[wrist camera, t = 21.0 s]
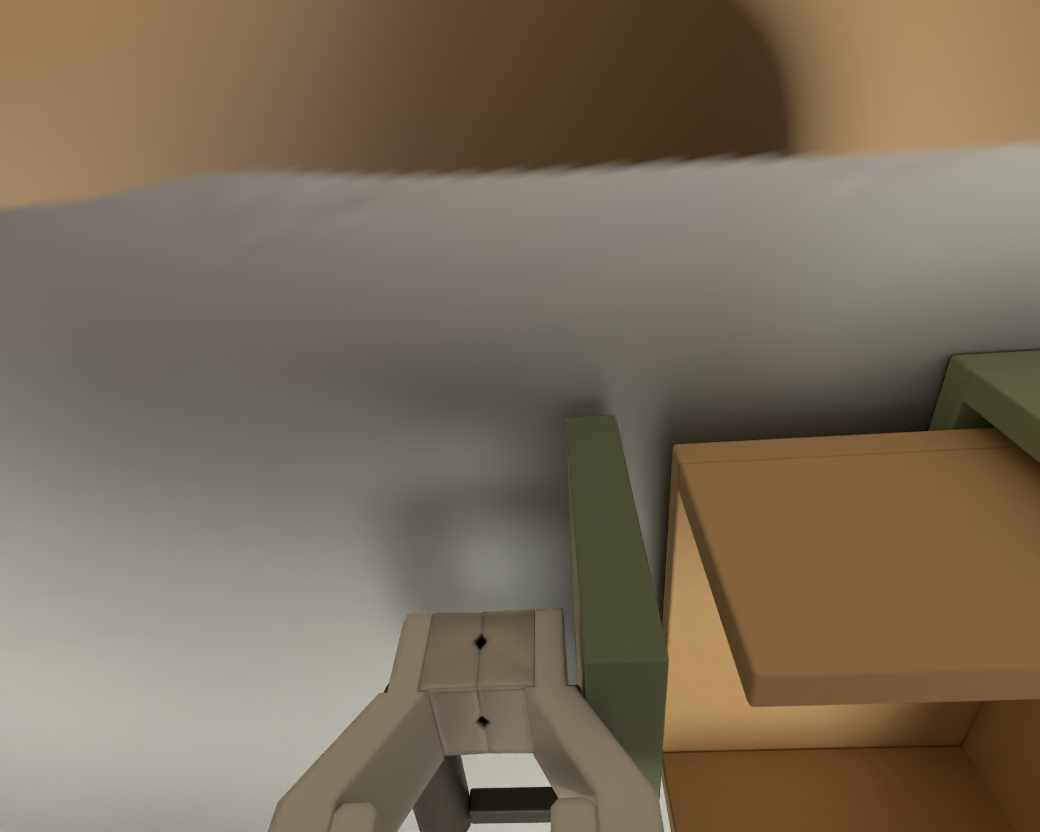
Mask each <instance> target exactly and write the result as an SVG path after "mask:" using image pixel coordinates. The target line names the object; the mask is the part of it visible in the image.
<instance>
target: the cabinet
mask: <svg viewBox="0 0 1040 832" xmlns="http://www.w3.org/2000/svg"><path fill="white" fill-rule="evenodd" d="M977 428H997V429H998V430H1000V431H1001V432H1002V433H1003V434H1005V435H1006V436H1007V437H1008V438H1009V439H1011V440H1012V441H1013V442H1014V443H1016V444H1017V445H1018V446H1019V447H1020V448H1022V449H1023V450H1024V451H1025V452H1027V453H1028V454H1029V455H1030V456H1032V457H1033V458H1034V459H1035V460H1036V461H1038V462H1039V463H1040V350H1034V351H1018V352H1001V353H984V354H967V355H954V356H952V357H951V359H950V362H949V365H948V368H947V372H946V375H945V378H944V381H943V385H942V388H941V391H940V394H939V398H938V401H937V404H936V407H935V411H934V414H933V417H932V420H931V424H930V427H929V430H928V431H939V430H958V429H977Z"/></svg>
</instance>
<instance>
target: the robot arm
mask: <svg viewBox="0 0 1040 832" xmlns="http://www.w3.org/2000/svg"><path fill="white" fill-rule="evenodd" d="M484 753H534V756H535V758H536V760H537V761H538V763H539V765H540V767H541V768H542V770H543V772H544V774H545V776H546V777H547V779H548V781H549V783H550V784H551V786H552V788H553V790H554V792H555V793H556V795H557V797H558V799H557V800H556V802H555V803H554V804H553V805H552V806H551V832H664V828H663V822H662V816H661V810H660V804H659V798H658V793H657V792H656V791H655V789H654V788H653V787H652V785H651V784H650V783H649V781H648V780H647V779H646V778H645V776H644V775H643V774H642V772H641V771H640V770H639V768H638V767H637V766H636V765H635V763H634V762H633V761H632V759H631V758H630V757H629V755H628V754H627V753H626V752H625V750H624V749H623V748H622V746H621V745H620V744H619V742H618V741H617V740H616V739H615V737H614V736H613V735H612V733H611V732H610V731H609V729H608V728H607V727H606V726H605V724H604V723H603V722H602V720H601V719H600V718H599V716H598V715H597V714H596V712H595V711H594V710H593V709H592V707H591V706H590V705H589V703H588V702H587V701H586V699H585V698H584V697H583V696H582V694H581V693H580V692H579V690H578V689H577V688H576V686H568V671H567V657H566V643H565V629H564V615H563V608H553V609H536V611H535V609H526V610H508V611H491V612H483V613H438V614H410V615H407V617H406V619H405V620H404V622H403V626H402V630H401V635H400V639H399V643H398V648H397V652H396V656H395V661H394V665H393V669H392V673H391V678H390V682H389V686H388V691H387V693H379V694H378V695H377V696H376V697H375V698H374V699H373V700H372V701H371V702H370V704H369V705H368V706H367V707H366V708H365V709H364V710H363V711H362V712H361V713H360V714H359V715H358V716H357V718H356V719H355V720H354V721H353V722H352V723H351V724H350V725H349V726H348V727H347V728H346V729H345V730H344V732H343V733H342V734H341V735H340V736H339V737H338V738H337V739H336V740H335V741H334V742H333V743H332V744H331V746H330V747H329V748H328V749H327V750H326V751H325V752H324V753H323V754H322V755H321V756H320V757H319V758H318V760H317V761H316V762H315V763H314V764H313V765H312V766H311V767H310V768H309V769H308V770H307V771H306V772H305V774H304V775H303V776H302V777H301V778H300V779H299V780H298V781H297V782H296V783H295V784H294V785H293V787H292V788H291V789H290V790H289V791H288V792H287V793H286V794H285V795H284V796H283V797H282V798H281V799H280V801H279V802H278V804H277V806H276V809H275V812H274V815H273V818H272V821H271V824H270V827H269V830H268V832H397V831H398V829H399V828H400V826H401V825H402V823H403V822H404V820H405V818H406V817H407V815H408V814H409V812H410V811H411V809H412V808H413V806H414V805H415V803H416V802H417V800H418V798H419V797H420V795H421V794H422V792H423V791H424V789H425V788H426V786H427V785H428V783H429V782H430V780H431V778H432V777H433V775H434V774H435V772H436V771H437V769H438V768H439V766H440V765H441V763H442V762H443V760H444V757H443V756H450V755H467V754H484Z"/></svg>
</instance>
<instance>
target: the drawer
mask: <svg viewBox="0 0 1040 832" xmlns="http://www.w3.org/2000/svg"><path fill="white" fill-rule="evenodd" d="M565 434H566V455H567V476H568V497H569V518H570V539H571V559H572V580H573V601H574V622H575V643H576V664H577V685H568V686H576V688H577V689H578V690H579V692H580V693H581V694H582V696H583V697H584V698H585V699H586V701H587V702H588V703H589V705H590V706H591V707H592V709H593V710H594V711H595V712H596V714H597V715H598V716H599V718H600V719H601V720H602V722H603V723H604V724H605V726H606V727H607V728H608V729H609V731H610V732H611V733H612V735H613V736H614V737H615V739H616V740H617V741H618V742H619V744H620V745H621V746H622V748H623V749H624V750H625V752H626V753H627V754H628V755H629V757H630V758H631V759H632V761H633V762H634V763H635V765H636V766H637V767H638V768H639V770H640V771H641V772H642V774H643V775H644V776H645V778H646V779H647V780H648V781H649V783H650V784H651V785H652V787H653V788H654V789H655V791H656V792H657V793H658V798H660V783H661V776H662V782H663V788H664V794H665V799H666V805H667V811H668V817H669V822H670V828H671V832H1040V463H1039V462H1038V461H1036V460H1035V459H1034V458H1033V457H1032V456H1030V455H1029V454H1028V453H1027V452H1025V451H1024V450H1023V449H1022V448H1020V447H1019V446H1018V445H1017V444H1016V443H1014V442H1013V441H1012V440H1011V439H1009V438H1008V437H1007V436H1006V435H1005V434H1003V433H1002V432H1001V431H1000V430H998V429H997V428H977V429H958V430H939V431H920V432H901V433H882V434H863V435H844V436H825V437H806V438H787V439H768V440H749V441H730V442H711V443H692V444H676V445H674V447H673V455H672V472H671V490H670V507H669V524H668V541H667V558H666V575H665V592H664V609H663V626H662V625H661V620H660V616H659V611H658V607H657V602H656V598H655V593H654V588H653V584H652V579H651V575H650V570H649V566H648V561H647V557H646V552H645V548H644V543H643V538H642V534H641V529H640V525H639V520H638V516H637V511H636V507H635V502H634V498H633V493H632V489H631V484H630V479H629V475H628V470H627V466H626V461H625V457H624V452H623V448H622V443H621V439H620V434H619V429H618V425H617V420H616V417H615V416H614V415H609V416H591V417H573V418H566V419H565ZM388 686H389V684H388V685H387V687H386V689H385V691H384V693H387V691H388ZM443 757H444V760H443V762H442V763H441V765H440V766H439V768H438V769H437V771H436V772H435V774H434V775H433V777H432V778H431V780H430V782H429V783H428V785H427V786H426V788H425V789H424V791H423V792H422V794H421V795H420V797H419V798H418V800H417V802H416V803H415V805H414V806H413V811H414V814H415V817H416V820H417V823H418V827H419V830H420V832H467V830H468V828H469V827H470V824H471V823H473V824H481V823H539V822H551V806H552V805H553V804H554V803H555V802H556V800H557V799H558V797H557V795H556V793H555V792H554V790H553V788H552V787H520V788H473V789H471V791H470V795H469V791H468V786H467V781H466V777H465V772H464V768H463V763H462V759H461V755H450V756H443Z"/></svg>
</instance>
